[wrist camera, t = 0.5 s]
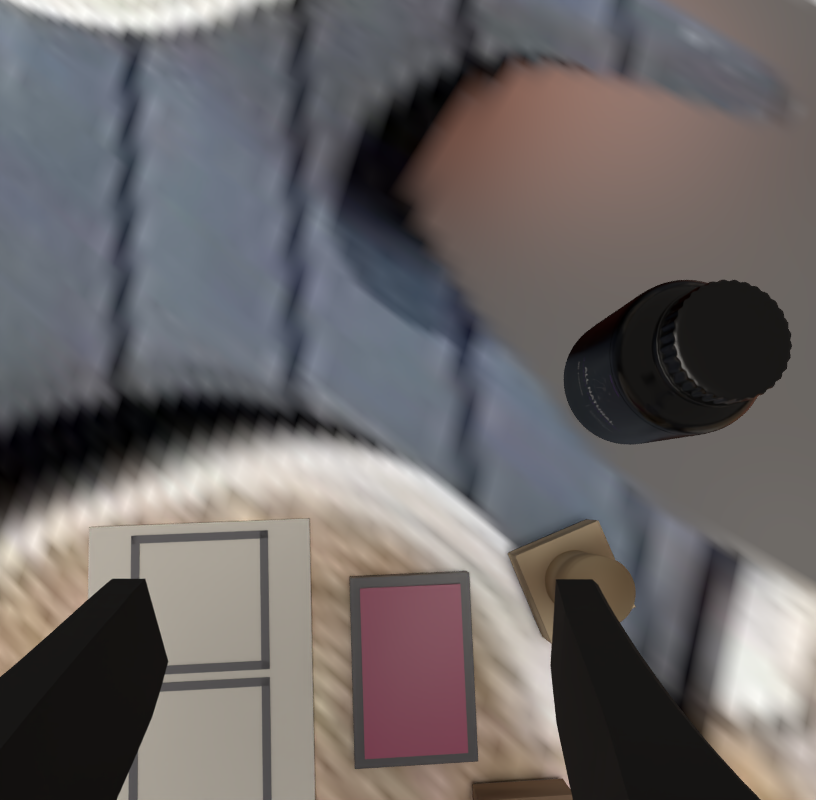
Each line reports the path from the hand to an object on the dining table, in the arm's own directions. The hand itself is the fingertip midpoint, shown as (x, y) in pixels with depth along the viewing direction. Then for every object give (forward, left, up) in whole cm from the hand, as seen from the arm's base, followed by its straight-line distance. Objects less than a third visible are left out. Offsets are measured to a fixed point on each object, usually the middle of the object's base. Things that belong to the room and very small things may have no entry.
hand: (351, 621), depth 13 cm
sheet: (-6, +8, -25) cm, 27 cm away
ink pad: (-6, -2, -25) cm, 26 cm away
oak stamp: (-2, -10, -25) cm, 28 cm away
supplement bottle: (+8, -14, -26) cm, 30 cm away
